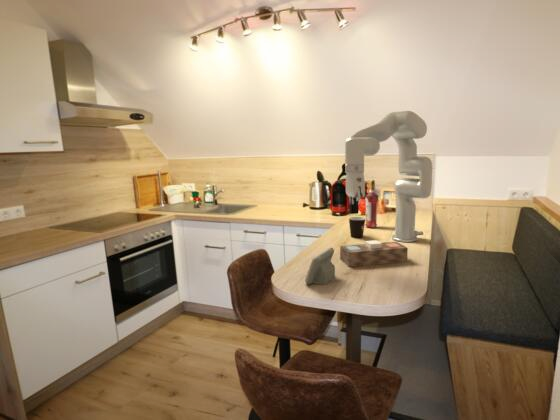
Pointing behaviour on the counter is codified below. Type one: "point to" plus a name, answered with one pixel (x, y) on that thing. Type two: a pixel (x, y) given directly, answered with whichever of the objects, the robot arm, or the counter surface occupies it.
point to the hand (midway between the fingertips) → (354, 213)
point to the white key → (373, 244)
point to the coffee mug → (356, 226)
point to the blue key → (353, 248)
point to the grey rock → (321, 268)
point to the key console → (373, 255)
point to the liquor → (371, 207)
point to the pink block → (392, 245)
